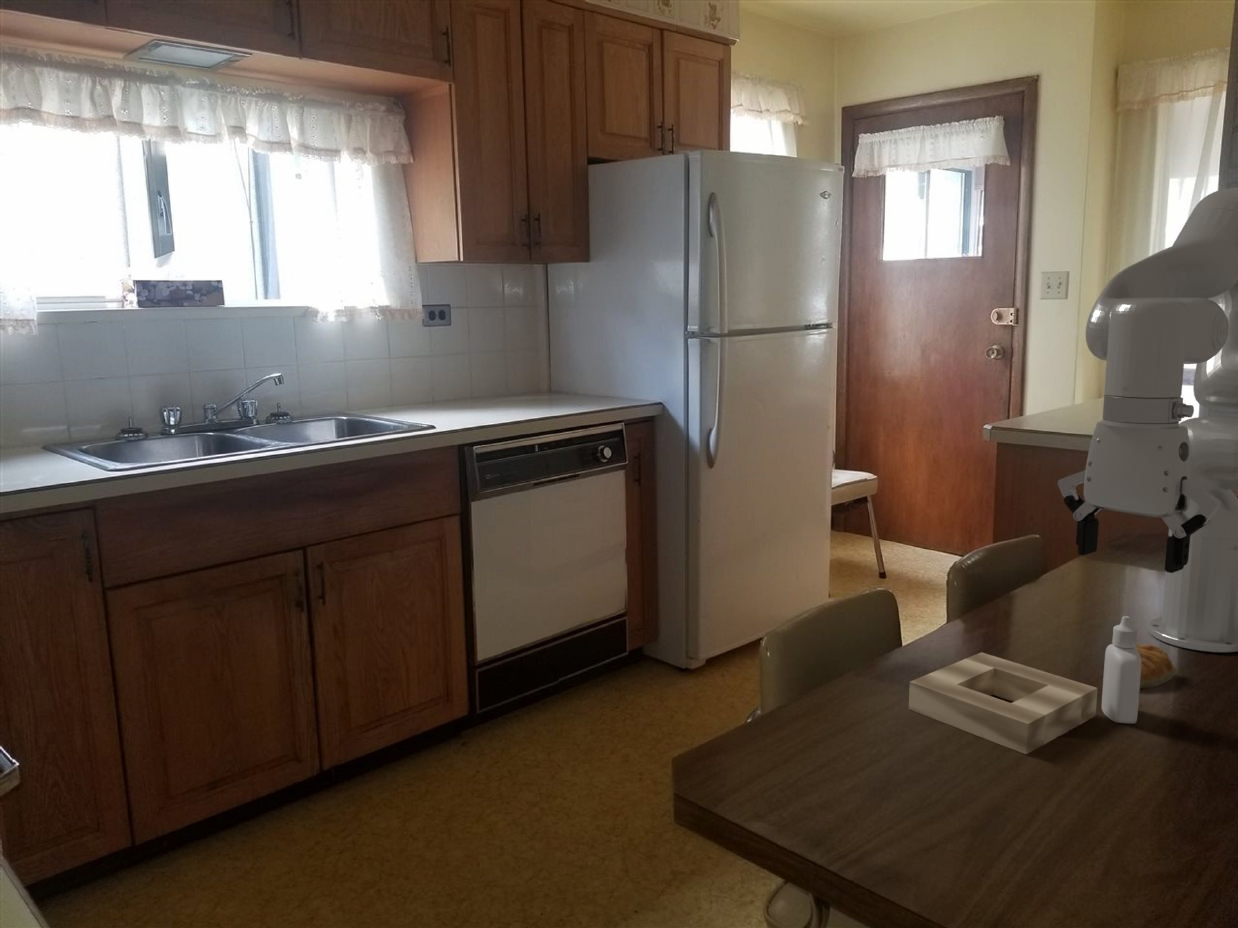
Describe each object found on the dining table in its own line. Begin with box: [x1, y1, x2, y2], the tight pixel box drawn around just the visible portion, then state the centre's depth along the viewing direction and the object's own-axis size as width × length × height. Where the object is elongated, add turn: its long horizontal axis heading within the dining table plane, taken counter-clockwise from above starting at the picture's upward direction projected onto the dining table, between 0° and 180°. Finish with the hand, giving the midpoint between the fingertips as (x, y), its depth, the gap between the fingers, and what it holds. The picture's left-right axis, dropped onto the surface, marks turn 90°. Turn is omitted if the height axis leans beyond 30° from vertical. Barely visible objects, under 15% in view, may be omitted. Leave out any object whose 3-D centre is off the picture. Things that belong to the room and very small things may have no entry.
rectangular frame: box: [908, 652, 1098, 755], centre depth 113 cm, size 15×15×4 cm
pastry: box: [1135, 644, 1177, 690], centre depth 123 cm, size 9×7×4 cm
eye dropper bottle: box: [1101, 615, 1141, 725], centre depth 111 cm, size 4×6×12 cm
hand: (1129, 561), depth 109 cm, fingers open, 9 cm apart
